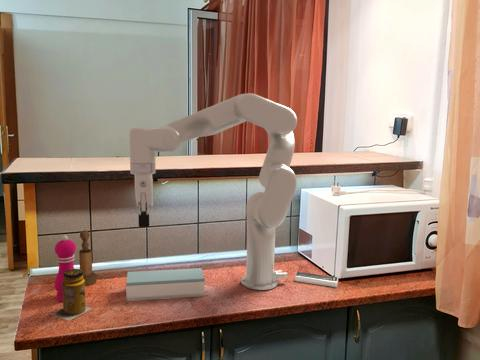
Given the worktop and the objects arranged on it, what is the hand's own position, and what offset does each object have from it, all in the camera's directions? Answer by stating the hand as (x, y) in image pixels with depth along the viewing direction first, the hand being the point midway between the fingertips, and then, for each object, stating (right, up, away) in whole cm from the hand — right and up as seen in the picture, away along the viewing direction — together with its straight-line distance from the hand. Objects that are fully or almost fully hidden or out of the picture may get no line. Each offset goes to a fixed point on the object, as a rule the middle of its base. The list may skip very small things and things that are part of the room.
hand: (144, 226), depth 131 cm
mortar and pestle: (-22, -20, +11) cm, 32 cm away
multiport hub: (+57, -22, +17) cm, 63 cm away
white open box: (+6, -22, +5) cm, 23 cm away
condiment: (-19, -24, -10) cm, 32 cm away
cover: (+6, -17, +4) cm, 18 cm away
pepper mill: (-24, -22, -1) cm, 32 cm away
